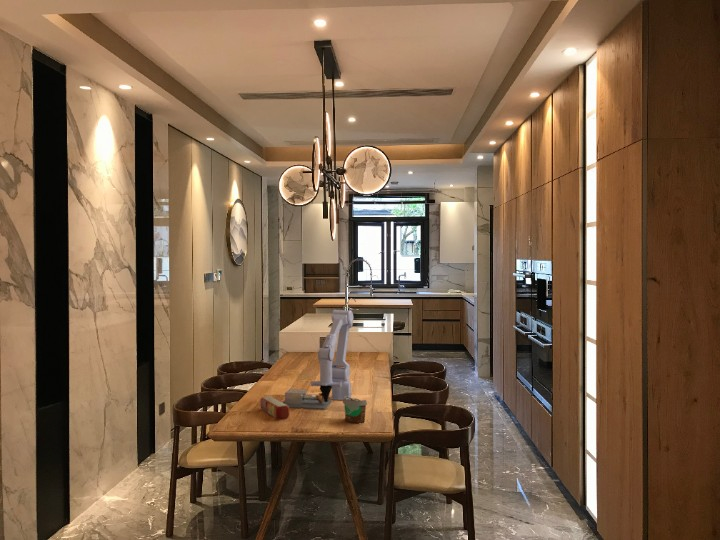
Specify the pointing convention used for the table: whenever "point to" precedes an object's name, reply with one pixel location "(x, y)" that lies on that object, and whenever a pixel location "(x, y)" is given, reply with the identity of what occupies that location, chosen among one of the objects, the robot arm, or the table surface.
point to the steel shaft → (314, 397)
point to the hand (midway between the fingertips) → (326, 401)
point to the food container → (354, 410)
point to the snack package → (274, 407)
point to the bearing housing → (295, 396)
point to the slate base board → (311, 405)
